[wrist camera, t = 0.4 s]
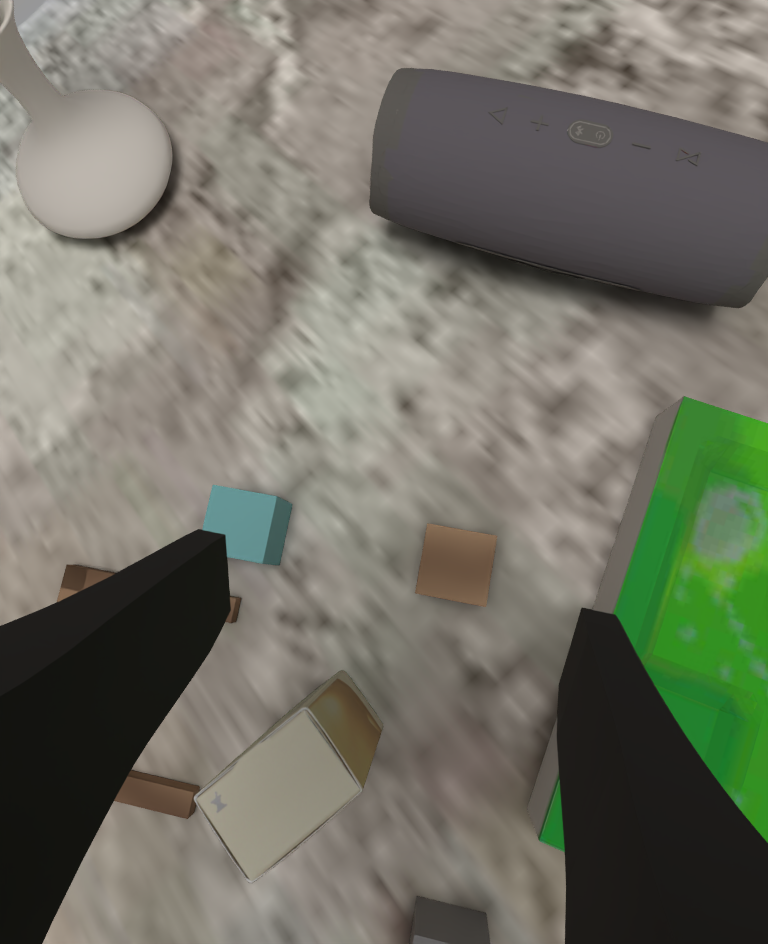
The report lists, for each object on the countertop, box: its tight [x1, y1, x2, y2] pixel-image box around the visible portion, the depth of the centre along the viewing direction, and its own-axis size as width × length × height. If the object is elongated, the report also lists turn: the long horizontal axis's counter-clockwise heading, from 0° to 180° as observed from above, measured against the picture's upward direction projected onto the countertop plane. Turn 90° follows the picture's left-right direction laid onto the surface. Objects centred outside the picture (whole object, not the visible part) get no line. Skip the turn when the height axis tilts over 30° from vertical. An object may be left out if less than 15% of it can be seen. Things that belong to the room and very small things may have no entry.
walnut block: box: [415, 523, 497, 607], centre depth 36 cm, size 4×4×4 cm
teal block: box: [202, 485, 292, 565], centre depth 38 cm, size 4×4×4 cm
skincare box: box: [194, 671, 383, 883], centre depth 31 cm, size 6×4×12 cm
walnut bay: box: [57, 565, 241, 819], centre depth 38 cm, size 13×12×1 cm
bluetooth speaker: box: [369, 68, 768, 308], centre depth 36 cm, size 23×9×10 cm, turn 71°
